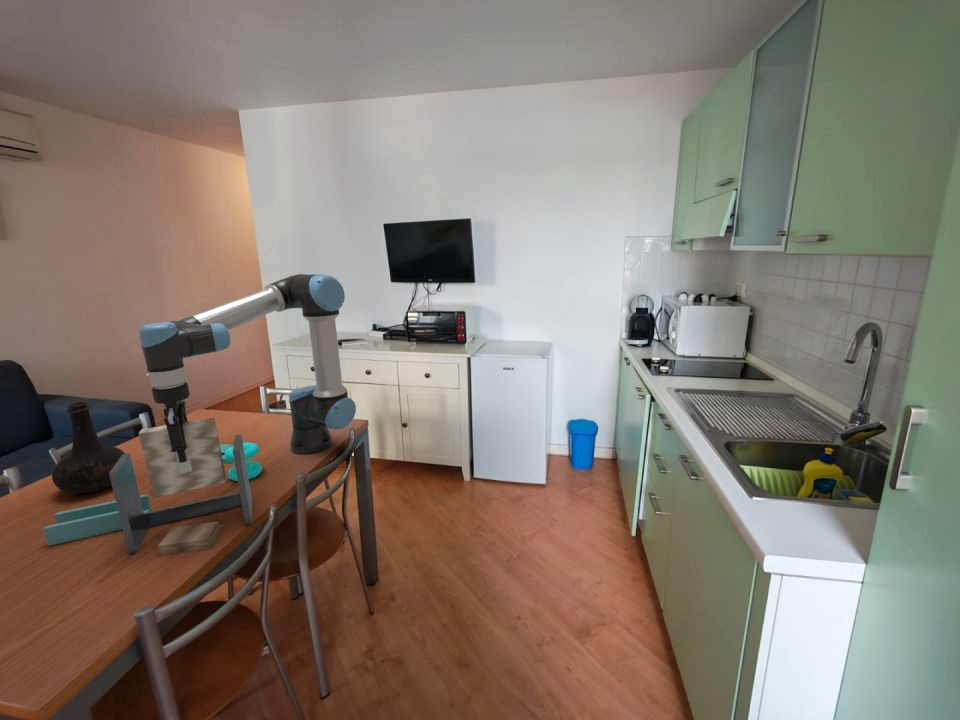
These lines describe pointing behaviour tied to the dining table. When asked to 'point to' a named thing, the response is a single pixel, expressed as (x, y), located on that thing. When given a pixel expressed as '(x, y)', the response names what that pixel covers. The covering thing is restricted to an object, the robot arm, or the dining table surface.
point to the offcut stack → (190, 538)
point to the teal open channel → (87, 522)
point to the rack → (138, 521)
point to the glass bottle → (85, 457)
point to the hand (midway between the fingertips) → (187, 468)
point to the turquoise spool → (252, 466)
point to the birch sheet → (164, 462)
